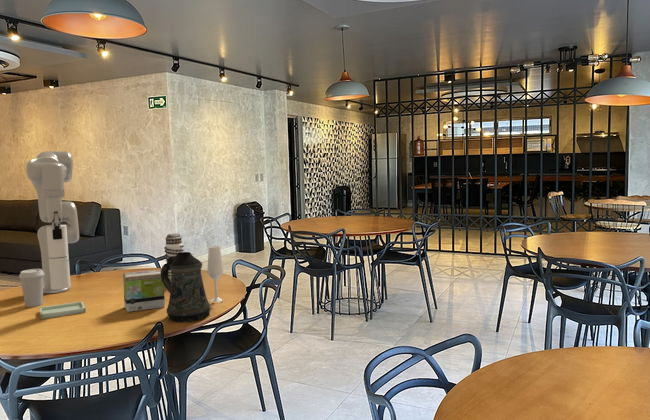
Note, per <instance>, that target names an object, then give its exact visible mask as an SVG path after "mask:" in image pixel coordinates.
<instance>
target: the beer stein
mask: <svg viewBox="0 0 650 420" xmlns="http://www.w3.org/2000/svg"><path fill="white" fill-rule="evenodd" d="M202 269H203V263H202V261H201V260H200V259H198V258H196V257H194V255H192V253H191V252H189V251H183V252H180V253H178V254H177V255H176V256H171V257H169V258H168V260H167V262H166V263H164V264H163V265H162V266H161V269H160V270H161V279H162V282H163V284H164V289H165V288H166V290H167V292H168V293H169V300H168V304H167V308H166V314H167V316H168V317H167V318H168V320H169V321H170V320H171V322H173V321H174V323H192V322H193V323H194V322H198V321H201V320H205V319H206V318H208V317H210V314H211V313H210V309H211V303H209V301H208V300H209V299H208V297H207V294H206V290H205V286H204V281H203V275H202ZM169 270H171V272H172V278H171V281H170V279H169V276H168V271H169Z"/></svg>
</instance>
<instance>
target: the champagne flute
mask: <svg viewBox="0 0 650 420" xmlns="http://www.w3.org/2000/svg"><path fill="white" fill-rule="evenodd" d="M206 273H207V275H208V276H209V277H210V278H211V279H212V280H213V281H214V297H213V298H211V299H210V301H211V302H220V301H222V299H223V298H220V297H219V294H218V279H220V278H221V277H222V276H223V274H224V265H223V259H222V251H221V246H220V245H210V246H208V256H207V271H206Z"/></svg>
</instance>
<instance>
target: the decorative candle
mask: <svg viewBox="0 0 650 420" xmlns="http://www.w3.org/2000/svg"><path fill="white" fill-rule="evenodd" d="M182 238H183V236H181V234H179V233H168V234H167V235H166V237H165V245H164V253H165V254H164V256H165V262H166V263H167V260H168V258H169V257H171V256H176V255H177V254H178V253H180V252H185V250H184V249H183V248H184V245H183V242H182V241H183V240H182ZM168 276H169V279H170V281H171V278H172V272H171V270H169V271H168Z"/></svg>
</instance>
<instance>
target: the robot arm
mask: <svg viewBox="0 0 650 420" xmlns="http://www.w3.org/2000/svg"><path fill="white" fill-rule="evenodd" d="M73 167H74V162H73V156H72V155H71V153H69V152H68V151H65V150H64V151H63V150H61V151H59V150H58V151H55V150H53V151H52V150H51V151H50V150H49V151H48V150H47V151H42V152H40V153H39V154H38V155H37V156H36V158H32V159H30V160H28V161H27V164H26V167H25V168H26V174H27V178H28V180H29V181H31V184H32V185H33V187H34V189H35V191H36V194H37V201H38V213H39V219H40V220H41V222H43V223H48V225H46V224H45V225H43V226H41V227H39V229H38V230H37V240H38V243H39V249H40V255H41V256H40V257H41V269H42V271H43V272H44V275H43V294H58V293H63V292H67V291H68V290H71V286H70V287H68V288H64V289H51V283H50V270H49V256H48V243H47V230H46V227H47V226H53V230H52V232H53V239H54V240H56V239H62V229H61V225H66V228H67V241H68V244H75V243H77V242H78V241H79V240H80V229H79V227H80V226H79V220H78V209H77V206H76V204H75V203H74V201H73V202H72V201H68V200H67V201H62V199H63V198H65V197H66V194H65V183H69V182H71V180H72V179H73ZM62 222H66V223H62ZM61 223H62V224H61ZM54 227H55V228H54Z"/></svg>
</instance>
